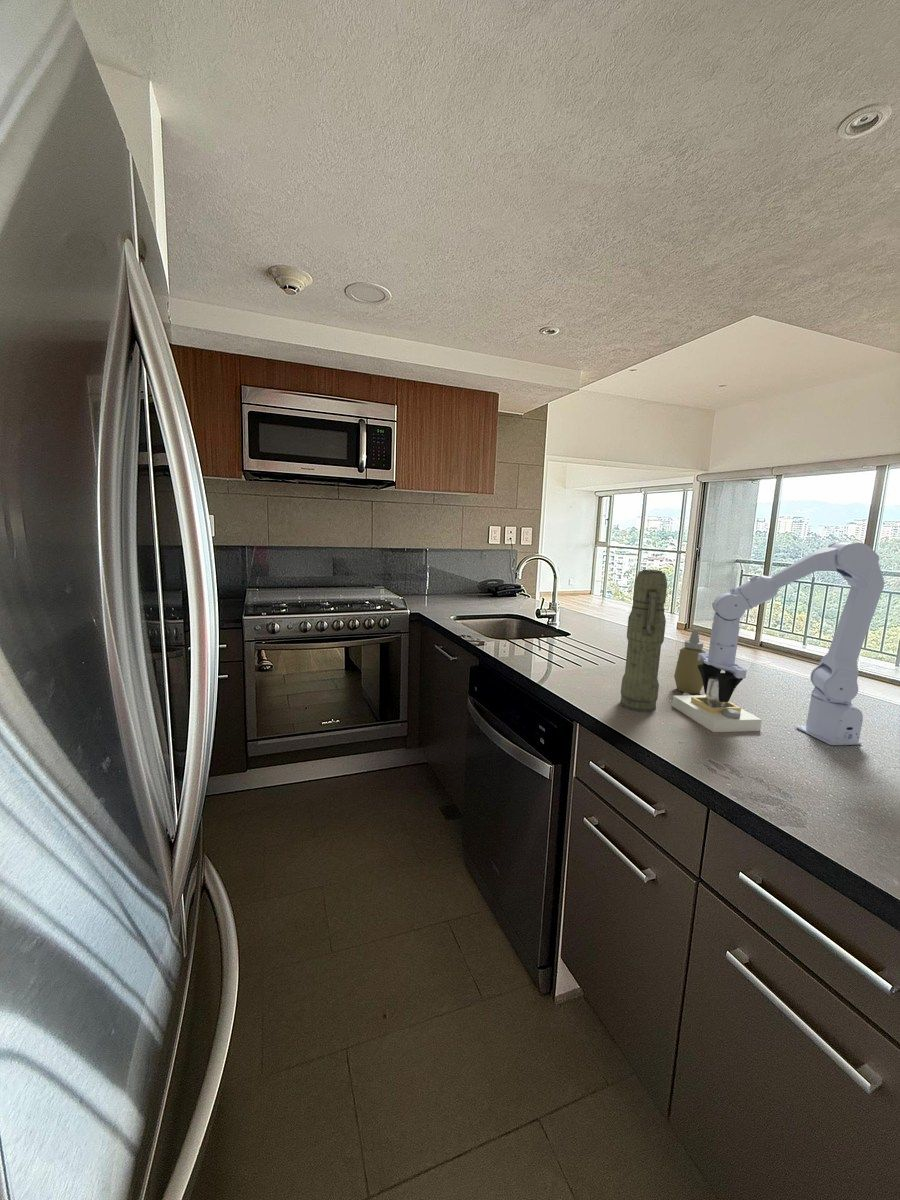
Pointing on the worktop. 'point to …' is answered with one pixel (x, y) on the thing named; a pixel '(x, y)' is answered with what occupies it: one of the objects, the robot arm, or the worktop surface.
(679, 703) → the white holder tray
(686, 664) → the squeeze bottle
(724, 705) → the spout can
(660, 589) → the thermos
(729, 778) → the worktop surface
